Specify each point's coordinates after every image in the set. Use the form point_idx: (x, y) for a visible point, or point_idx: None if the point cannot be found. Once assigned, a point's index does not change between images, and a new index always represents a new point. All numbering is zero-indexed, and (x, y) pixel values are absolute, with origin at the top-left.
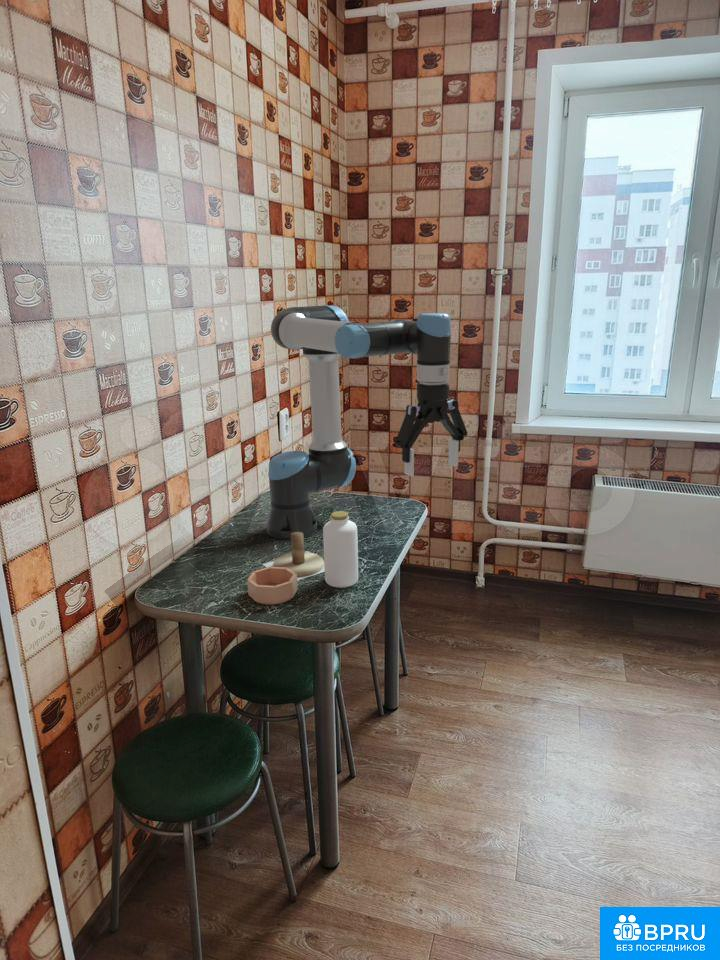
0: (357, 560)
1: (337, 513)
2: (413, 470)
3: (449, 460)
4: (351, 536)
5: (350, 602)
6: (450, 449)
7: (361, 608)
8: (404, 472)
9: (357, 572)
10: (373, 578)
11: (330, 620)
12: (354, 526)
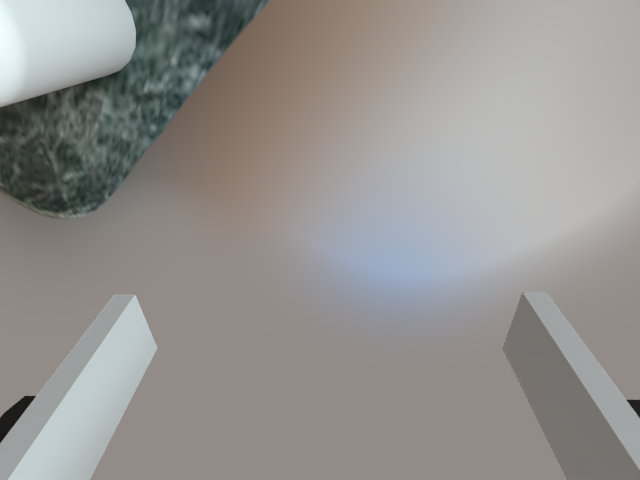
0: (98, 68)
1: None
2: (138, 378)
3: (535, 326)
4: (8, 104)
5: (93, 138)
6: (586, 423)
7: (111, 173)
8: (108, 302)
9: (117, 64)
10: (185, 55)
11: (38, 180)
12: (2, 86)
